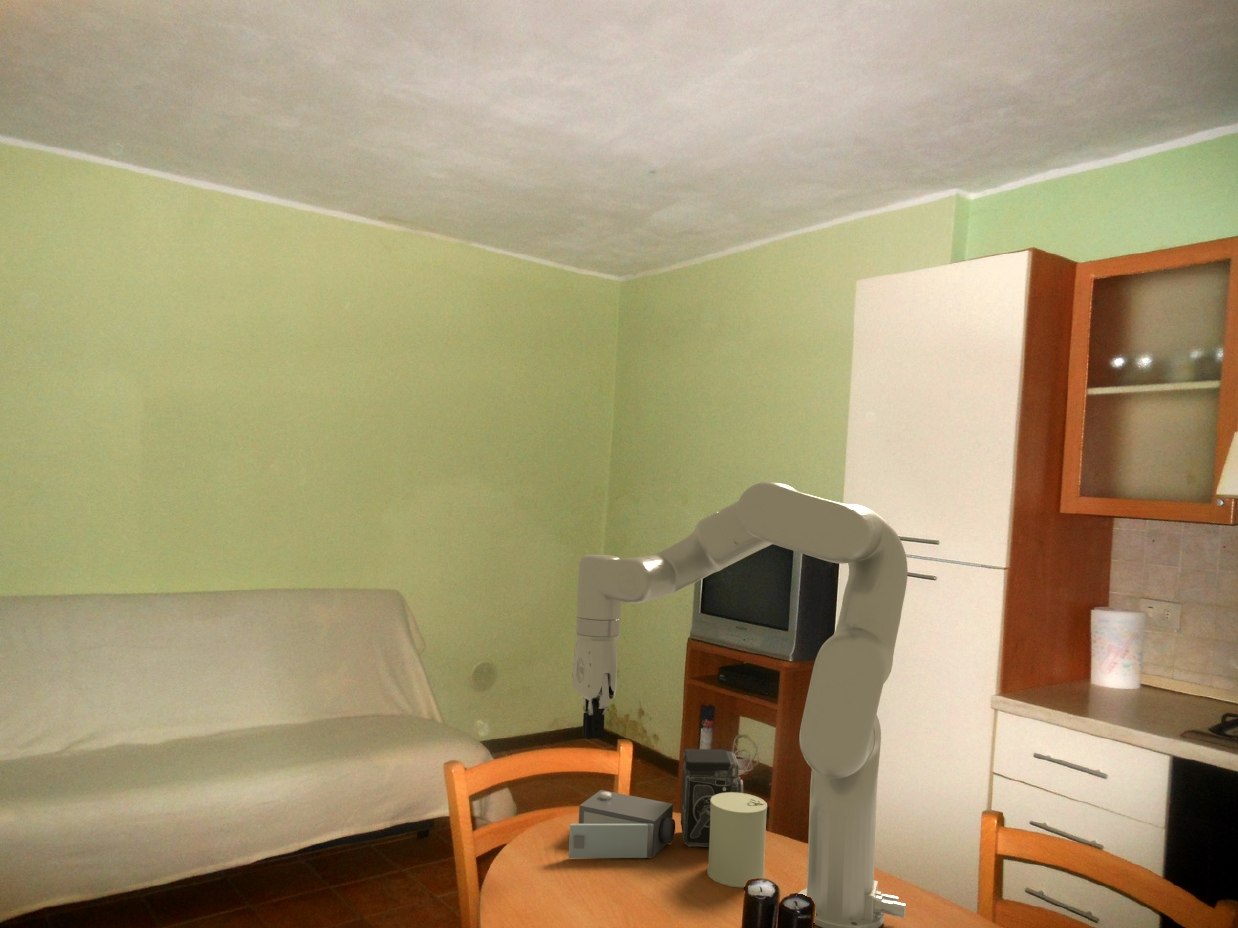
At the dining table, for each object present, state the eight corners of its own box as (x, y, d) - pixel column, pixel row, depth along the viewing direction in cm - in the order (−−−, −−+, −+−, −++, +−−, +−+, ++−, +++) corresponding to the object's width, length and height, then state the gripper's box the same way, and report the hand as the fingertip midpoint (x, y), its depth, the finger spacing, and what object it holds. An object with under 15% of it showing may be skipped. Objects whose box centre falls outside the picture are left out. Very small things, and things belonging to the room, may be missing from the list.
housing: (680, 840, 149) (681, 800, 149) (662, 859, 140) (663, 817, 141) (599, 822, 155) (601, 785, 155) (577, 840, 146) (579, 800, 147)
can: (769, 888, 131) (772, 810, 132) (710, 886, 131) (713, 808, 132) (759, 863, 141) (762, 790, 141) (704, 861, 141) (706, 787, 141)
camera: (745, 854, 144) (748, 765, 144) (683, 851, 144) (686, 762, 144) (737, 830, 154) (740, 747, 155) (679, 827, 154) (683, 744, 155)
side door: (651, 855, 141) (653, 822, 141) (653, 859, 140) (654, 826, 140) (568, 855, 140) (570, 823, 140) (569, 859, 138) (570, 826, 138)
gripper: (563, 621, 149) (558, 726, 149) (592, 635, 135) (586, 751, 135) (603, 620, 152) (598, 724, 151) (635, 634, 138) (630, 748, 137)
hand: (592, 736), depth 143 cm, fingers closed
